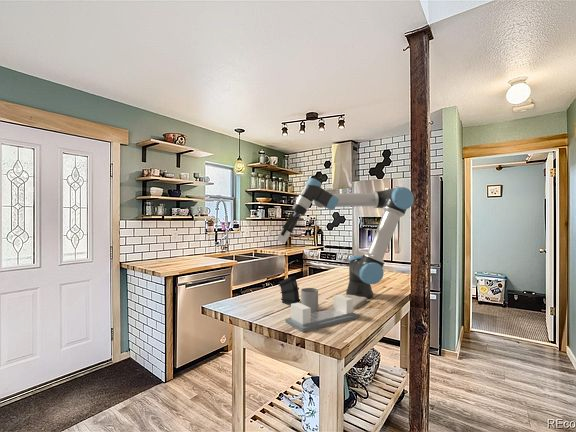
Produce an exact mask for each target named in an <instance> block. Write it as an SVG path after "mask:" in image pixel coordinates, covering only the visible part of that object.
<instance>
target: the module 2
mask: <svg viewBox="0 0 576 432" xmlns="http://www.w3.org/2000/svg"><path fill="white" fill-rule="evenodd" d="M345 296H346V295H342V294H336V295H333V298H332V299H333V302H332V303H333V305H332V306H333V308H334V309H336V310H339V311H341V312H343V313H346V314H348V313H352V312H353V313H354V309H353V299H351V298H348V297H345ZM333 308H332V309H333Z"/></svg>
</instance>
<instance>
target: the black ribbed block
mask: <svg viewBox="0 0 576 432" xmlns="http://www.w3.org/2000/svg"><path fill="white" fill-rule="evenodd" d="M278 286H279V287H280V290H281V291H280V294H281V298H280V300H281V303H282V304H285V305H288V306H290V307H291V304H293V303H298V302H299V303H301V298H300V291H299V290H300V287H298V283H297V277H296V276H295V275H293V276H289V277H287V278H285V279H283V280H281V281H279V282H278Z"/></svg>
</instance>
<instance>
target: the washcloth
mask: <svg viewBox="0 0 576 432" xmlns="http://www.w3.org/2000/svg"><path fill="white" fill-rule="evenodd" d="M344 296H345V297H348V298H351V299H353V310H356V309H358V308H359V307H361V306H362V305H364V304H366V302H368V299H367V298H366V297H358V296H355V295H346V294H345V295H344Z"/></svg>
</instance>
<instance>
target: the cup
mask: <svg viewBox="0 0 576 432" xmlns="http://www.w3.org/2000/svg"><path fill="white" fill-rule="evenodd" d="M300 290H301V291H300V297H301V298H300V303H301V304H303V305H305V306H307V307H310V308H311V313H314V312H319V289H317V288H314V287H305V288H302V289H300Z"/></svg>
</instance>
